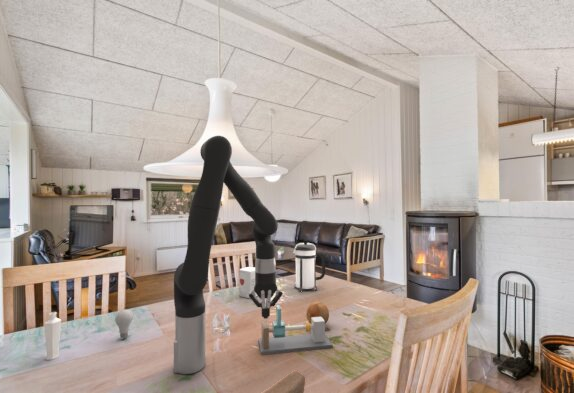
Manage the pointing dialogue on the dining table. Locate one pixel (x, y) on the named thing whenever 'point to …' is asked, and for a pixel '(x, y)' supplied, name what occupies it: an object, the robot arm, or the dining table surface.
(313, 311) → the onion
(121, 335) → the lightbulb
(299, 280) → the coffee press
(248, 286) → the supplement box
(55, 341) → the perfume bottle
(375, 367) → the dining table surface
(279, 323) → the light blue bracket block
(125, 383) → the dining table surface
